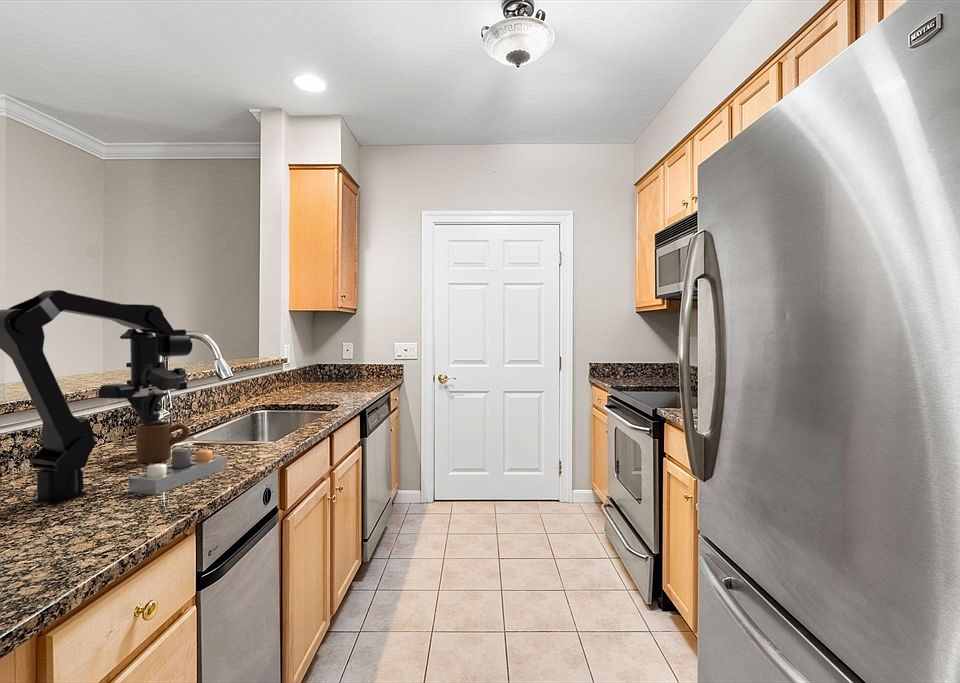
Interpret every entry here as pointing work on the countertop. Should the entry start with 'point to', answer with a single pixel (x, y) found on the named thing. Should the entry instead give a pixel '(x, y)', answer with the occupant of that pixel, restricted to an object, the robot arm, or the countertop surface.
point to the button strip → (176, 476)
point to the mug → (157, 441)
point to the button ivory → (156, 470)
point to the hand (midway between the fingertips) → (146, 423)
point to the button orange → (203, 455)
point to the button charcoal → (181, 459)
